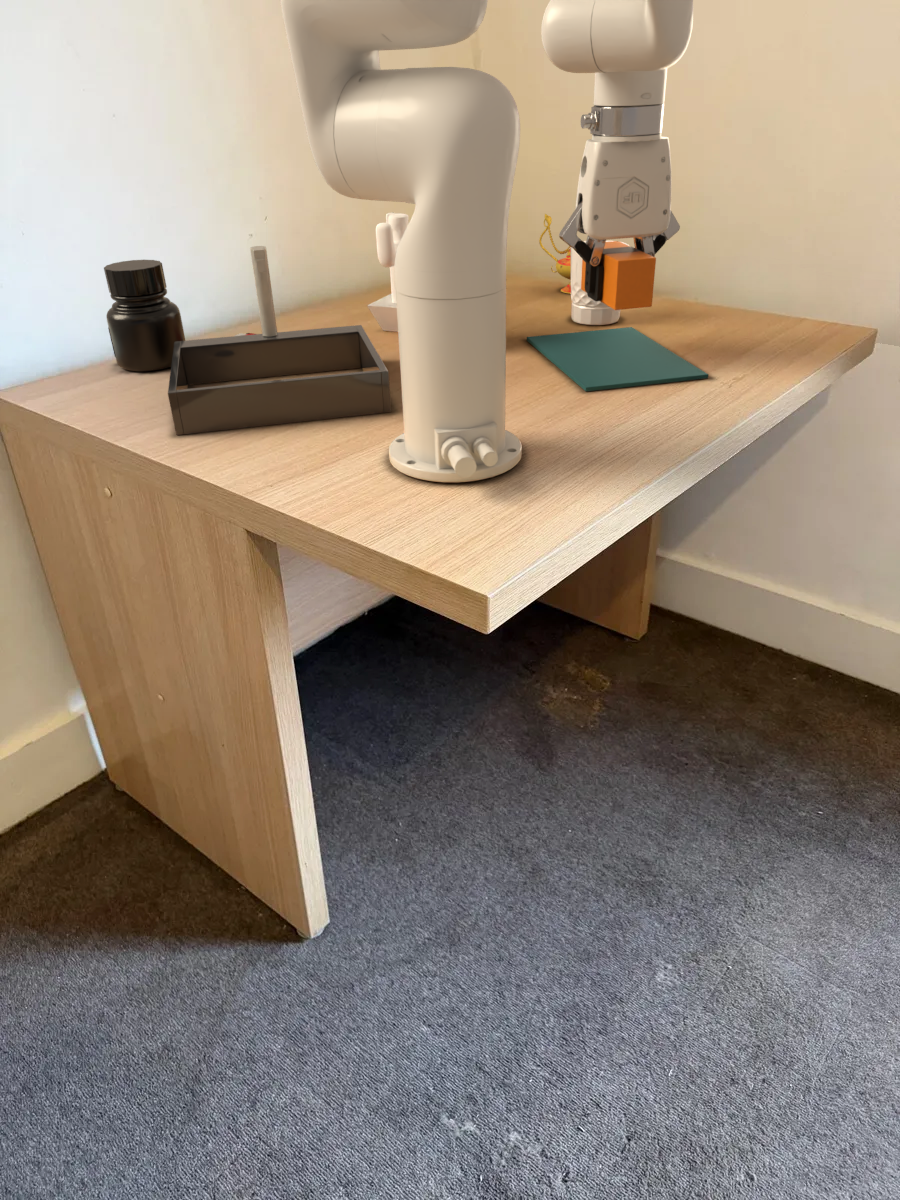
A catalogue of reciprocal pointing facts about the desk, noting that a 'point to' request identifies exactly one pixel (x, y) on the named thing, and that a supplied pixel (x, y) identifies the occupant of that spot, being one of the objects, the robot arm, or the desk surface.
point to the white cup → (587, 299)
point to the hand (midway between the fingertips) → (615, 295)
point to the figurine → (386, 251)
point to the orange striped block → (625, 276)
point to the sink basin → (275, 373)
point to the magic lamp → (563, 264)
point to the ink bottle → (142, 316)
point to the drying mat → (614, 359)
